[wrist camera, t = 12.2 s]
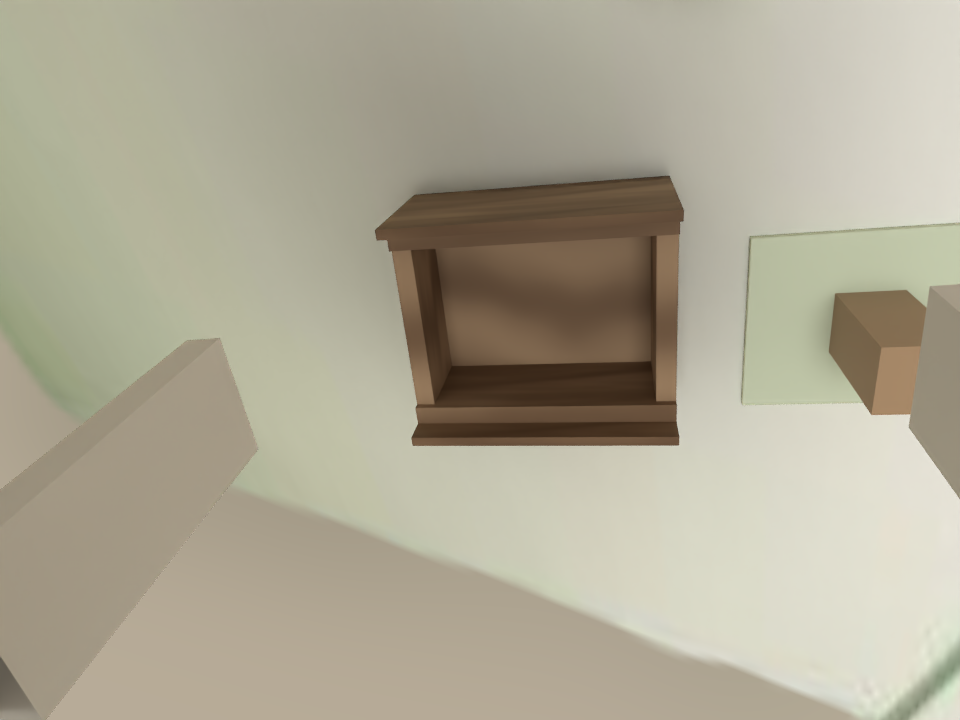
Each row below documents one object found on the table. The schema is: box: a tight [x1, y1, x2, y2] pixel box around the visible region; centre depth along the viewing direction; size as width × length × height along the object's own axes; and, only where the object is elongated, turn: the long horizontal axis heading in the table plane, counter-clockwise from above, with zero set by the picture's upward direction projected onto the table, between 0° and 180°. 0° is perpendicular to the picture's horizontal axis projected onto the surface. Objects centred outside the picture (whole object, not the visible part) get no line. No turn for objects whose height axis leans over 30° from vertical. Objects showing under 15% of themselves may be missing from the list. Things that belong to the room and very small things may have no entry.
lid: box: [741, 223, 960, 415], centre depth 34 cm, size 10×12×8 cm
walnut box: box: [375, 176, 684, 446], centre depth 37 cm, size 12×14×8 cm
